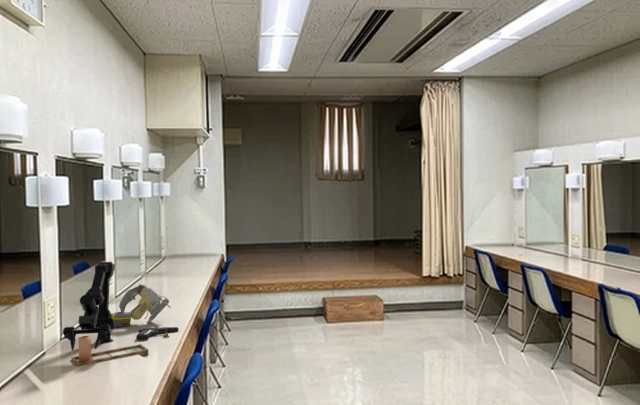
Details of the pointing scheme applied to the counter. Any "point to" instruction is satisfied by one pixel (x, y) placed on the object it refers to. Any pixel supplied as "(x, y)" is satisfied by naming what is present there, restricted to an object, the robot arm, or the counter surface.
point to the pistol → (154, 332)
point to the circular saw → (139, 305)
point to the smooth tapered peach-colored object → (84, 348)
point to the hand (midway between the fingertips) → (83, 349)
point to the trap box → (130, 351)
